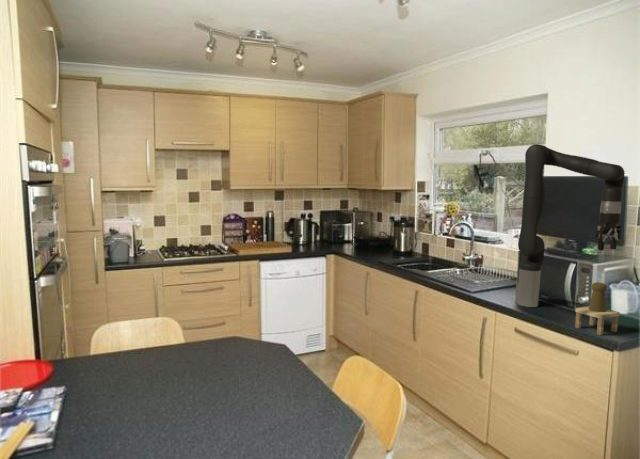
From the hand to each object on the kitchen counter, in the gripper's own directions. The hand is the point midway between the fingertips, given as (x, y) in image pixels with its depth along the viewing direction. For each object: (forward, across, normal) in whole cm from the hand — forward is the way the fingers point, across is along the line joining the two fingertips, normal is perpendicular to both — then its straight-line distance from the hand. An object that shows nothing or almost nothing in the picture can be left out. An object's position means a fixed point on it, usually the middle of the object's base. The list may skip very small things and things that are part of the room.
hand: (606, 249), depth 199 cm
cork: (+22, +17, +9) cm, 30 cm away
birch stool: (+30, +18, +9) cm, 36 cm away
